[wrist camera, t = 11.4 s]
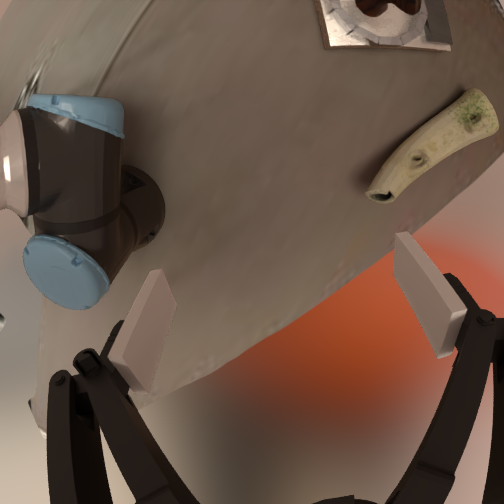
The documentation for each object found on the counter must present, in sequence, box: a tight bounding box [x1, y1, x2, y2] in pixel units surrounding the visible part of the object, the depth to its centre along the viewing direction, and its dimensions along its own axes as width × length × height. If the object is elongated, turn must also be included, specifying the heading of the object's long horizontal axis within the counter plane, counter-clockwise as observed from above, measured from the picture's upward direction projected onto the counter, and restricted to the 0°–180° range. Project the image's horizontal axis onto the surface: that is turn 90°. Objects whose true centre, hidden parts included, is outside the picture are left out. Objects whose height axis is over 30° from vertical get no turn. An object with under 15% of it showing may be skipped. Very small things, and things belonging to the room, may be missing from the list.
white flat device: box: [314, 0, 453, 52], centre depth 29 cm, size 20×14×6 cm
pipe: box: [365, 87, 499, 204], centre depth 38 cm, size 28×8×10 cm, turn 133°
